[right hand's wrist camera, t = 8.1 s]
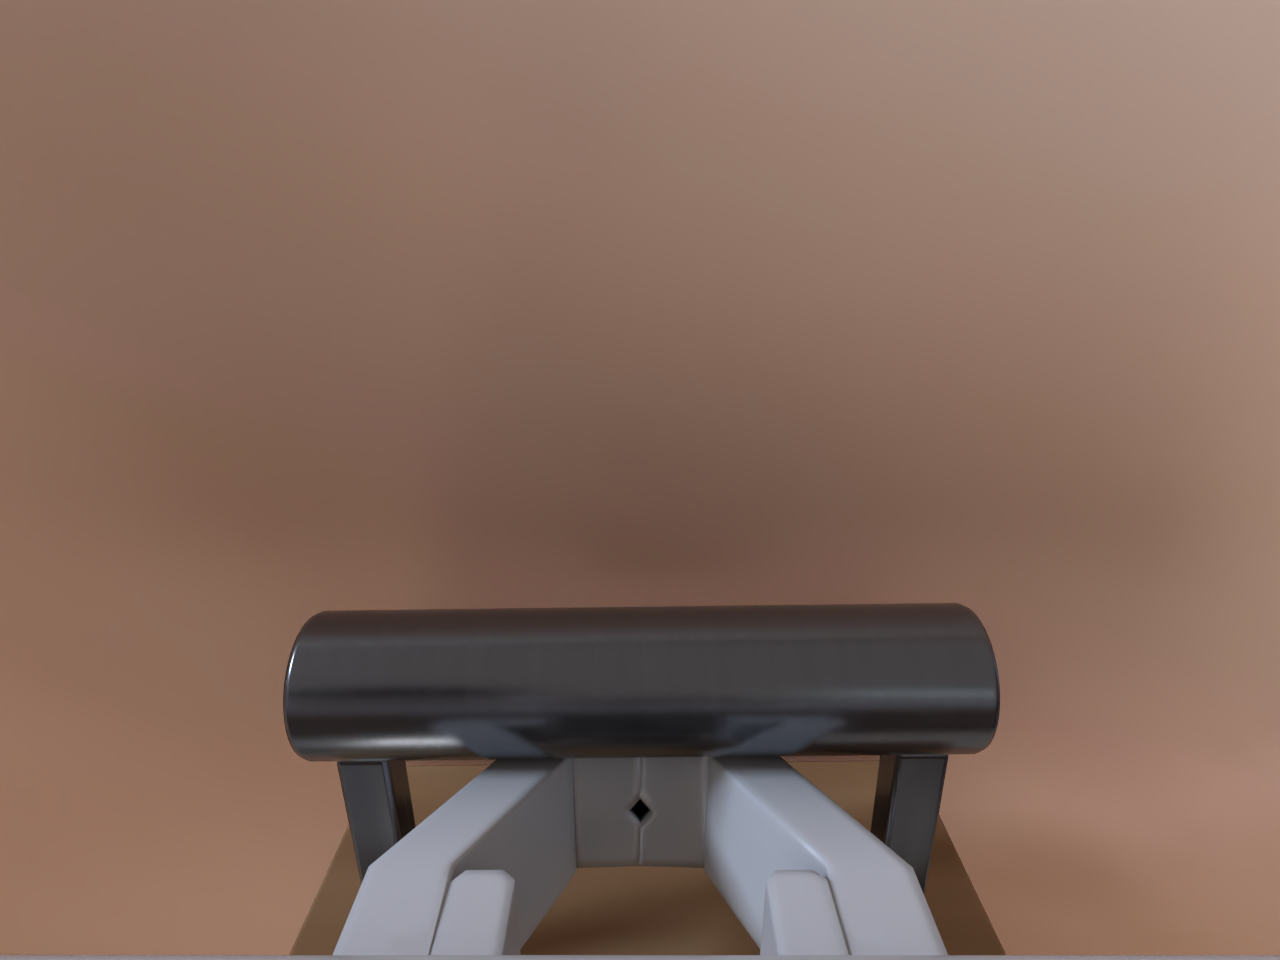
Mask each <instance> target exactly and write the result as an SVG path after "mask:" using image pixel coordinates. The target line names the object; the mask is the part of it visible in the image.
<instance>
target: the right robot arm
mask: <svg viewBox="0 0 1280 960" xmlns="http://www.w3.org/2000/svg"><path fill="white" fill-rule="evenodd" d="M627 866H652V867H687V868H704V872H705V873H706V875H707V876H708V877H709V879H710V880H711V882H712V883H713V884H714V886H715V887H716V889H717V890H718V891H719V893H720V894H721V896H722V897H723V898H724V900H725V901H726V903H727V904H728V905H729V907H730V908H731V910H732V911H733V912H734V914H735V915H736V916H737V918H738V919H739V921H740V922H741V923H742V925H743V926H744V928H745V929H746V930H747V932H748V933H749V935H750V936H751V937H752V939H753V940H754V942H755V943H756V944H757V946H758V947H759V949H760V955H521V953H520V950H521V948H522V947H523V946H524V944H525V943H526V941H527V940H528V939H529V937H530V936H531V934H532V933H533V932H534V930H535V929H536V928H537V926H538V925H539V923H540V922H541V921H542V919H543V918H544V916H545V915H546V914H547V912H548V911H549V909H550V908H551V907H552V905H553V904H554V903H555V901H556V900H557V898H558V897H559V896H560V894H561V893H562V891H563V890H564V889H565V887H566V886H567V884H568V883H569V882H570V880H571V879H572V878H573V876H574V875H575V873H576V868H593V867H627ZM0 960H1280V955H948V953H947V951H946V948H945V946H944V943H943V941H942V939H941V936H940V934H939V931H938V929H937V926H936V924H935V921H934V919H933V916H932V914H931V911H930V909H929V906H928V904H927V901H926V899H925V896H924V894H923V891H922V889H921V887H920V884H919V882H918V879H917V877H916V874H915V872H914V869H913V867H911V866H910V865H909V864H908V863H907V862H905V861H904V860H903V859H902V858H901V857H900V856H898V855H897V854H896V853H895V852H894V851H892V850H891V849H890V848H889V847H888V846H886V845H885V844H884V843H883V842H882V841H880V840H879V839H878V838H877V837H876V836H874V835H873V834H872V833H871V832H870V831H869V830H867V829H866V828H865V827H864V826H863V825H861V824H860V823H859V822H858V821H857V820H855V819H854V818H853V817H852V816H851V815H849V814H848V813H847V812H846V811H845V810H843V809H842V808H841V807H840V806H839V805H838V804H836V803H835V802H834V801H833V800H832V799H830V798H829V797H828V796H827V795H826V794H824V793H823V792H822V791H821V790H820V789H818V788H817V787H816V786H815V785H814V784H812V783H811V782H810V781H809V780H808V779H806V778H805V777H804V776H803V775H802V774H801V773H799V772H798V771H797V770H796V769H795V768H793V767H792V766H791V765H790V764H789V763H787V762H786V761H785V760H784V759H783V758H781V757H780V756H749V757H661V758H573V759H497V760H495V761H494V762H493V763H492V764H491V765H490V766H488V767H487V768H486V769H485V770H484V771H482V772H481V773H480V774H479V775H478V776H476V777H475V778H474V779H473V780H472V781H470V782H469V783H468V784H467V785H466V786H464V787H463V788H462V789H461V790H460V791H458V792H457V793H456V794H455V795H454V796H452V797H451V798H450V799H449V800H448V801H446V802H445V803H444V804H443V805H442V806H440V807H439V808H438V809H437V810H436V811H434V812H433V813H432V814H431V815H430V816H428V817H427V818H426V819H425V820H424V821H422V822H421V823H420V824H419V825H418V826H416V827H415V828H414V829H413V830H412V831H410V832H409V833H408V834H407V835H406V836H404V837H403V838H402V839H401V840H400V841H398V842H397V843H396V844H395V845H394V846H393V847H391V848H390V849H389V850H388V851H387V852H385V853H384V854H383V855H382V856H381V857H379V858H378V859H377V860H376V861H375V862H373V863H372V864H371V865H370V866H369V867H368V869H367V872H366V874H365V877H364V879H363V881H362V884H361V886H360V889H359V891H358V894H357V896H356V899H355V901H354V903H353V906H352V908H351V911H350V913H349V916H348V918H347V921H346V923H345V925H344V928H343V930H342V933H341V935H340V938H339V940H338V943H337V945H336V947H335V950H334V952H333V955H0Z"/></svg>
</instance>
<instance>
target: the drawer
mask: <svg viewBox="0 0 1280 960" xmlns="http://www.w3.org/2000/svg"><path fill="white" fill-rule="evenodd" d="M999 710H1000V688H999V677H998V670H997V665H996V660H995V656H994V652H993V649H992V645H991V642H990V640H989V637H988V635H987V632H986V630H985V628H984V626H983V624H982V623H981V621H980V620H979V618H978V617H977V615H976V614H975V613H974V612H973V611H972V610H970V609H969V608H967V607H965V606H963V605H960V604H957V603H921V604H838V605H755V606H672V607H590V608H507V609H424V610H341V611H323V612H320V613H318V614H316V615H314V616H312V617H311V618H310V619H309V620H308V621H307V622H306V623H305V624H304V626H303V627H302V629H301V630H300V632H299V634H298V636H297V638H296V640H295V642H294V645H293V648H292V651H291V654H290V657H289V661H288V665H287V670H286V676H285V683H284V695H283V711H284V722H285V728H286V733H287V736H288V740H289V742H290V745H291V747H292V748H293V750H294V752H295V753H296V754H297V755H298V756H300V757H301V758H303V759H305V760H308V761H337V766H338V771H339V776H340V781H341V786H342V791H343V796H344V801H345V806H346V811H347V816H348V821H349V826H348V828H347V830H346V832H345V834H344V836H343V839H342V841H341V843H340V845H339V847H338V850H337V852H336V854H335V856H334V858H333V860H332V863H331V865H330V867H329V869H328V871H327V874H326V876H325V878H324V880H323V882H322V885H321V887H320V889H319V891H318V893H317V895H316V898H315V900H314V902H313V904H312V906H311V909H310V911H309V913H308V915H307V917H306V919H305V922H304V924H303V926H302V928H301V930H300V933H299V935H298V937H297V939H296V941H295V944H294V946H293V948H292V950H291V952H290V954H289V955H333V952H334V950H335V947H336V945H337V943H338V940H339V938H340V935H341V933H342V930H343V928H344V925H345V923H346V921H347V918H348V916H349V913H350V911H351V908H352V906H353V903H354V901H355V899H356V896H357V894H358V891H359V889H360V886H361V884H362V881H363V879H364V877H365V874H366V872H367V869H368V867H369V866H370V865H371V864H372V863H373V862H375V861H376V860H377V859H378V858H379V857H381V856H382V855H383V854H384V853H385V852H387V851H388V850H389V849H390V848H391V847H393V846H394V845H395V844H396V843H397V842H398V841H400V840H401V839H402V838H403V837H404V836H406V835H407V834H408V833H409V832H410V831H412V830H413V829H414V828H415V827H416V826H418V825H419V824H420V823H421V822H422V821H424V820H425V819H426V818H427V817H428V816H430V815H431V814H432V813H433V812H434V811H436V810H437V809H438V808H439V807H440V806H442V805H443V804H444V803H445V802H446V801H448V800H449V799H450V798H451V797H452V796H454V795H455V794H456V793H457V792H458V791H460V790H461V789H462V788H463V787H464V786H466V785H467V784H468V783H469V782H470V781H472V780H473V779H474V778H475V777H476V776H478V775H479V774H480V773H481V772H482V771H484V770H485V769H486V768H487V767H488V766H490V765H446V766H406V763H405V760H485V759H573V758H661V757H749V756H837V755H880V761H800V762H787V763H789V764H790V765H791V766H792V767H793V768H795V769H796V770H797V771H798V772H799V773H801V774H802V775H803V776H804V777H805V778H806V779H808V780H809V781H810V782H811V783H812V784H814V785H815V786H816V787H817V788H818V789H820V790H821V791H822V792H823V793H824V794H826V795H827V796H828V797H829V798H830V799H832V800H833V801H834V802H835V803H836V804H838V805H839V806H840V807H841V808H842V809H843V810H845V811H846V812H847V813H848V814H849V815H851V816H852V817H853V818H854V819H855V820H857V821H858V822H859V823H860V824H861V825H863V826H864V827H865V828H866V829H867V830H869V831H870V832H871V833H872V834H873V835H874V836H876V837H877V838H878V839H879V840H880V841H882V842H883V843H884V844H885V845H886V846H888V847H889V848H890V849H891V850H892V851H894V852H895V853H896V854H897V855H898V856H900V857H901V858H902V859H903V860H904V861H905V862H907V863H908V864H909V865H910V866H911V867H913V869H914V872H915V874H916V877H917V879H918V882H919V884H920V887H921V889H922V891H923V894H924V896H925V899H926V901H927V904H928V906H929V909H930V911H931V914H932V916H933V919H934V921H935V924H936V926H937V929H938V931H939V934H940V936H941V939H942V941H943V943H944V946H945V948H946V951H947V953H948V955H1006V954H1005V951H1004V949H1003V947H1002V945H1001V943H1000V941H999V939H998V937H997V935H996V933H995V931H994V929H993V927H992V924H991V922H990V920H989V918H988V916H987V914H986V912H985V910H984V908H983V906H982V904H981V902H980V899H979V897H978V895H977V893H976V891H975V889H974V887H973V885H972V883H971V881H970V879H969V877H968V874H967V872H966V870H965V868H964V866H963V864H962V862H961V860H960V858H959V856H958V854H957V852H956V849H955V847H954V845H953V843H952V841H951V839H950V837H949V835H948V833H947V831H946V829H945V827H944V825H943V822H942V820H941V818H940V816H939V808H940V802H941V796H942V790H943V785H944V779H945V773H946V767H947V761H948V754H975V753H978V752H980V751H982V750H984V749H985V748H987V747H988V746H989V744H990V743H991V741H992V739H993V738H994V735H995V732H996V729H997V725H998V719H999ZM520 953H521V955H760V949H759V947H758V946H757V944H756V943H755V942H754V940H753V939H752V937H751V936H750V935H749V933H748V932H747V930H746V929H745V928H744V926H743V925H742V923H741V922H740V921H739V919H738V918H737V916H736V915H735V914H734V912H733V911H732V910H731V908H730V907H729V905H728V904H727V903H726V901H725V900H724V898H723V897H722V896H721V894H720V893H719V891H718V890H717V889H716V887H715V886H714V884H713V883H712V882H711V880H710V879H709V877H708V876H707V875H706V873H705V872H704V868H687V867H652V866H627V867H593V868H576V873H575V875H574V876H573V878H572V879H571V880H570V882H569V883H568V884H567V886H566V887H565V889H564V890H563V891H562V893H561V894H560V896H559V897H558V898H557V900H556V901H555V903H554V904H553V905H552V907H551V908H550V909H549V911H548V912H547V914H546V915H545V916H544V918H543V919H542V921H541V922H540V923H539V925H538V926H537V928H536V929H535V930H534V932H533V933H532V934H531V936H530V937H529V939H528V940H527V941H526V943H525V944H524V946H523V947H522V948H521V950H520Z"/></svg>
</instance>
